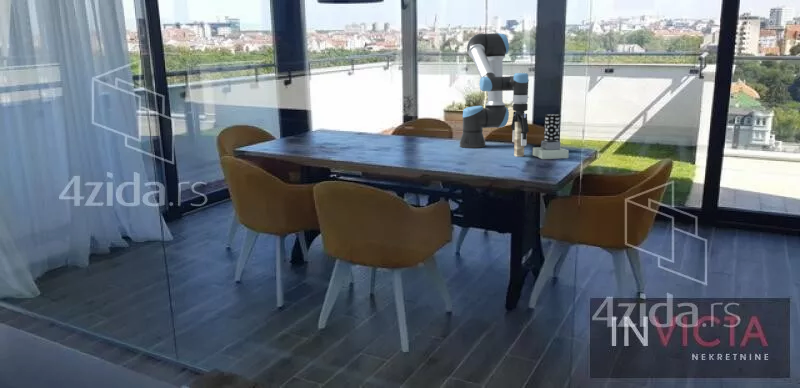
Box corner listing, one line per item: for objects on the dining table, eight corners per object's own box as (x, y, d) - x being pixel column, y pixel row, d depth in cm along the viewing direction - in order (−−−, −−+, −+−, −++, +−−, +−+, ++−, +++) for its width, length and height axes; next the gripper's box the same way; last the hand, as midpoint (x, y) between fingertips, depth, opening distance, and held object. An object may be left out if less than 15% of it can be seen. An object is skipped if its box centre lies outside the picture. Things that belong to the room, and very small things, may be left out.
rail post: (516, 156, 329) (517, 122, 325) (514, 155, 333) (514, 121, 329) (523, 156, 330) (524, 122, 326) (521, 155, 334) (522, 121, 330)
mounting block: (542, 159, 320) (542, 151, 319) (532, 154, 334) (532, 147, 333) (568, 158, 322) (568, 150, 321) (557, 153, 336) (557, 146, 335)
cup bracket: (546, 150, 323) (546, 142, 322) (540, 148, 330) (541, 140, 329) (560, 149, 324) (560, 142, 323) (554, 147, 331) (554, 140, 330)
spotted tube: (559, 150, 348) (561, 114, 344) (558, 152, 340) (559, 115, 336) (544, 149, 351) (545, 114, 346) (542, 151, 343) (544, 115, 339)
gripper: (536, 104, 314) (534, 146, 319) (518, 101, 337) (517, 140, 342) (521, 105, 313) (520, 147, 317) (505, 101, 336) (504, 141, 341)
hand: (519, 143), depth 330 cm, fingers open, 12 cm apart
